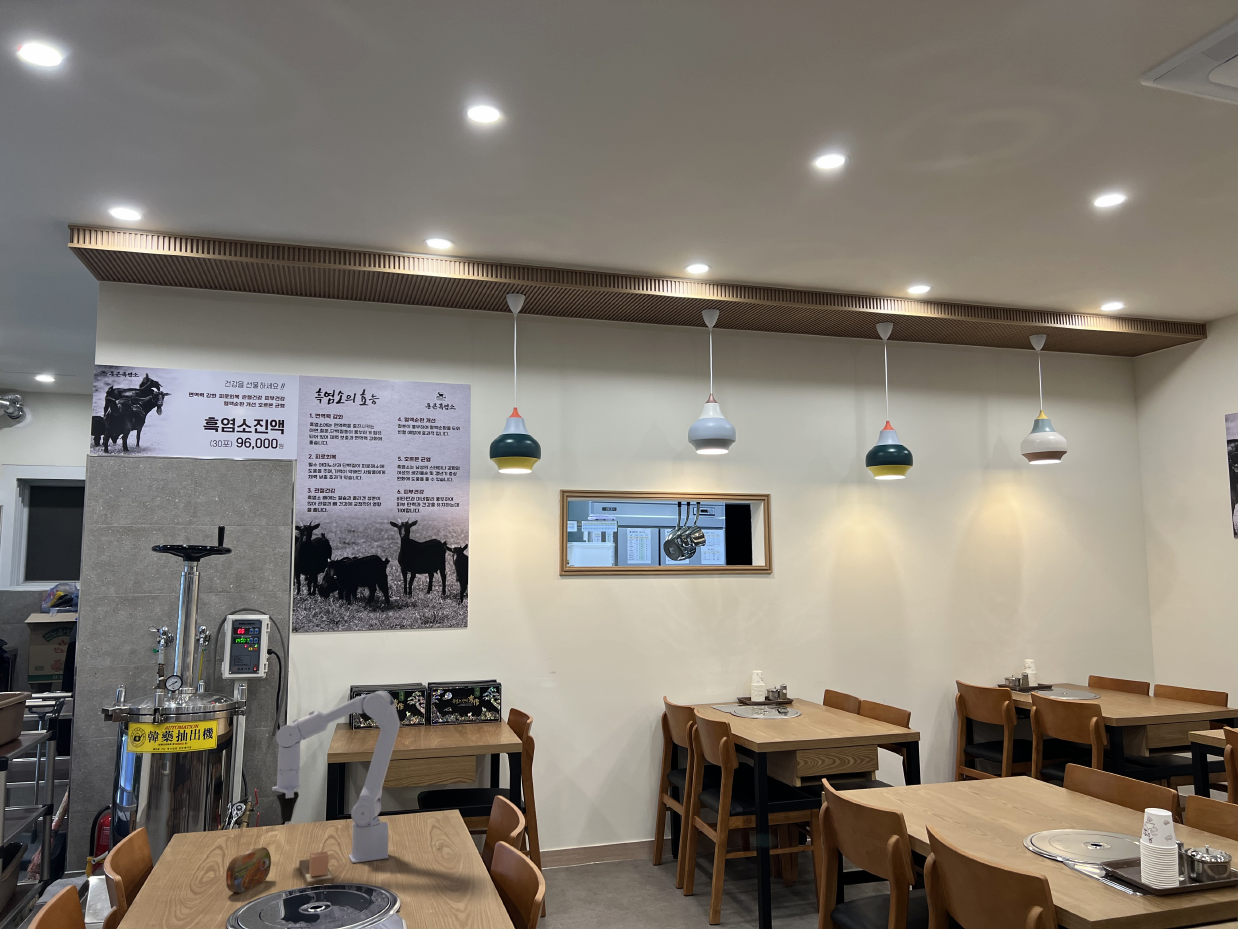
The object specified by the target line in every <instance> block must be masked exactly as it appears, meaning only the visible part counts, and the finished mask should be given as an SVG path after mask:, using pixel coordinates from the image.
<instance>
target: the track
mask: <svg viewBox="0 0 1238 929" xmlns="http://www.w3.org/2000/svg"><path fill="white" fill-rule="evenodd" d="M298 863H299V864H298V867H300V868H299V870H300V869H301V870H300V872H302V873H301V875H303V876H302V878H303V880H305V881H304V883H305V886H306V888H307V887H308V886H314V885H324V884H333V885H334V877H333V875H332V872H331V871H330V869H329V867H328V874H326V875H319V876H312V877H311V876H310V873H309V863H310V858H307V859H302V860H301V859H300V860H298Z"/></svg>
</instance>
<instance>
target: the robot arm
mask: <svg viewBox="0 0 1238 929" xmlns="http://www.w3.org/2000/svg"><path fill="white" fill-rule="evenodd" d="M394 699H395V698H393V696H392V695H391V694H390V693H389V692H388V691H385V690H377V691H376V692H372V693H370V694H366V695H362V696H357V697H355V698H352V699H351V700H348V701H347V702H344V703H343V704H341V705H339V706H337V707H335V708H332V709H330V710H329V711H326V712H322V711H319V710H317V711H315V710H313V711H310V712H308V715H306V716H304V717H302V718H300V719H296V718H295V719H293V720H292V723H288V724H285V725H283V726H282V727H281V728H279V729H278V731H277V733H276V735H275V738H276V742H277V744H278V753H277V754H278V755H277V774H276V775H277V778H276V786H272V788H271V790H272V792H273V791H277V792H281V793H278V794H276V796H275V797H276V798H277V801H278V803H279V808H280V809H279V810H280V815H281V816H280V817H281V820H282V823H286V822H291V821H292V817H293V814H294V809H295V806H296V803H297V801H298V799H299V797H300V794H299V792H298V790H299V789H300V788H301V786H300V770H301V769H300V768H301V767H300V765H301V763H300V762H301V741H305V740H307V739H309V738H311V737H314V736H315V735H318V734H320V733H322V732H324V731H326V730H327V728H328V726H329V724H330V723H332V722H334V721H337V720H339V719H341V718H343V717H346V716H349V715H350V714H353V713H356V714H361V715H362V714H366V715H367V716H368V717H370V718H371V719H372V720H374V721H375V723H376V725H377V726H378V727H379V729H380V730H379V733H378V738H377V741H376V744H375V747H374V751H373V755H372V758H371V761H370V764H369V768H368V771H367V775H366V778H365V782H364V785H363V787H362V790H361V792H360V794H359V796H358V800H357V802H356V803H355V804H354V806H353V807H352V808H351V811H350V815H351V820H352V821H353V822H352V835H351V836H352V839H351V840H352V841H351V854H350V853H349V854H348V858H349V859H350V861H351V863H353V864H355V863H363V862H369V861H376V860H377V861H378V860H385V859H389V826H388V821H381V819H380V818H379V816H378V815H379V814H380V813H381V810H382V800H381V797H382V796H383V795H382V794H383V786H384V783H385V778H386V776H387V772H388V768H389V765H390V762H391V759H392V754H393V751H394V747H395V743H396V740H397V737H398V734H399V730H400V726H401V723H400V718H399V714H398V712H397V711H398V710H397V708H396V701H395V700H394Z"/></svg>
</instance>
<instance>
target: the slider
mask: <svg viewBox="0 0 1238 929" xmlns="http://www.w3.org/2000/svg"><path fill="white" fill-rule="evenodd" d="M309 859H310V863H309V873H310V876H311V877H312V876H319V875H326V874H328V868H329V853H328V851H321V852H320V851H319V852H312V853H309Z"/></svg>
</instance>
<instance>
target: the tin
mask: <svg viewBox="0 0 1238 929" xmlns="http://www.w3.org/2000/svg"><path fill="white" fill-rule="evenodd" d="M271 856H272V855H271V853H270V850H269V849H267V847H263V846H261V847H255V848H252V849H250V850H248V851H246V852H245V851H244V853H241V854H239V855H237V856H234V857H233V858H232V859H231V860H230V862H229V863H228V865H227V868H226V870H225V871H226V874H225V875H226V876H225V882H226V884H225V885H226V888H227V890H228V892H230V893H235V894H236V893H237V894H239V893H240V894H244V893H247V891H249V890H252V889H253V888H255V887H257V886H259V885H261V884H263V883H264V882H265V881H266V879H267V878H268V877H269V874H270V871H271V866H272V858H271Z"/></svg>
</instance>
